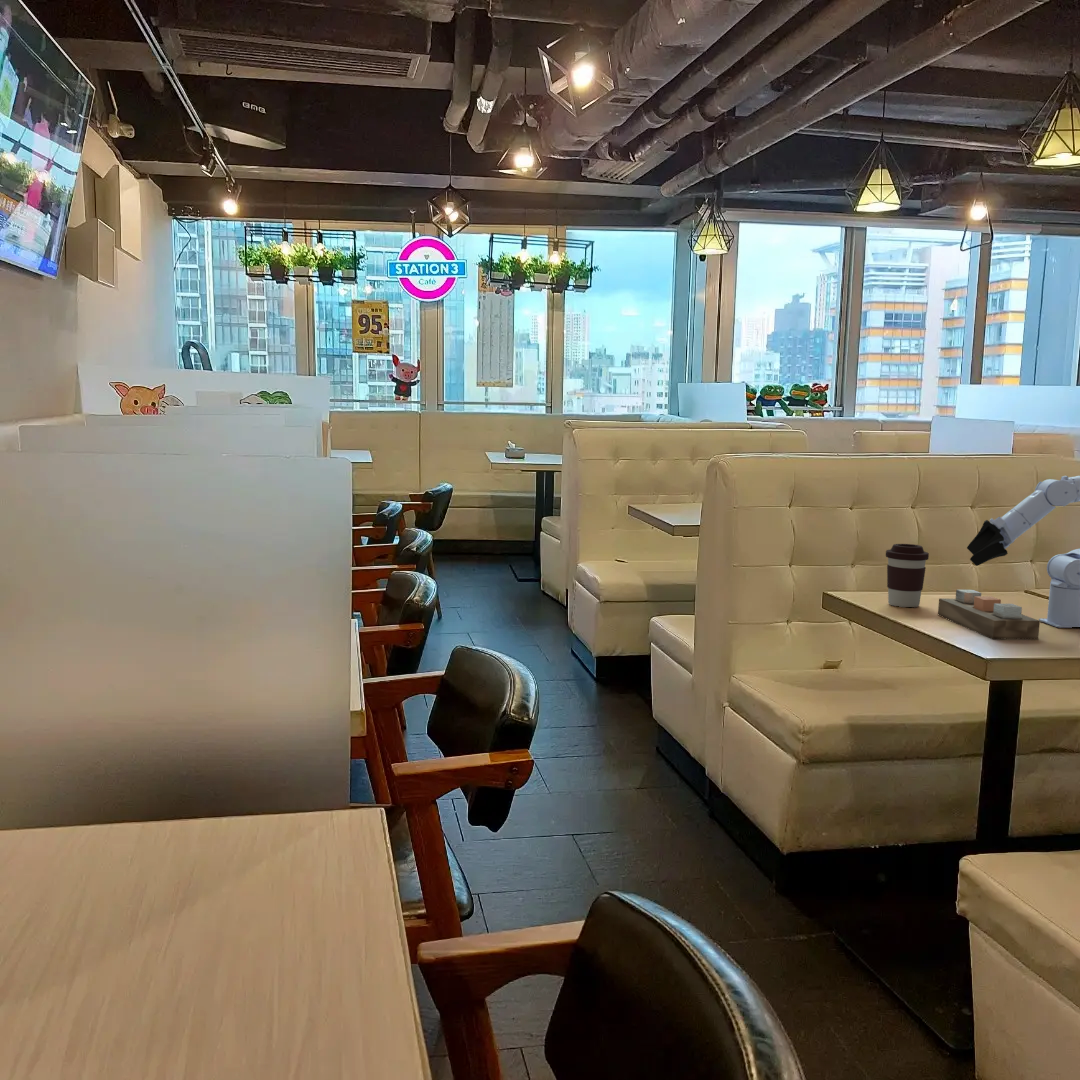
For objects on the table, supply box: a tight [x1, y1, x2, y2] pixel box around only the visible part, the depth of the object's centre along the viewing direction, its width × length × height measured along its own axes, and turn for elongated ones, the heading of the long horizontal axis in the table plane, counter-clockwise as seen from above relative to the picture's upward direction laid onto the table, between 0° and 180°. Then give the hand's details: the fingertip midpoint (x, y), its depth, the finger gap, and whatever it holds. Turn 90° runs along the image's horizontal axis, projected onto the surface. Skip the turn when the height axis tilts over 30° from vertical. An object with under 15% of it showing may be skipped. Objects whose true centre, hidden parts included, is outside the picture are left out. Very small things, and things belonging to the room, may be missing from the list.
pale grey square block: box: [993, 603, 1023, 619], centre depth 215 cm, size 4×4×3 cm
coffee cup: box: [885, 543, 930, 608], centre depth 247 cm, size 10×10×15 cm
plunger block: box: [937, 597, 1041, 640], centre depth 224 cm, size 10×25×4 cm, turn 4°
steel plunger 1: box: [955, 589, 982, 604], centre depth 232 cm, size 4×4×3 cm
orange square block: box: [974, 595, 1002, 611], centre depth 223 cm, size 4×4×3 cm
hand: (971, 557), depth 227 cm, fingers open, 7 cm apart
